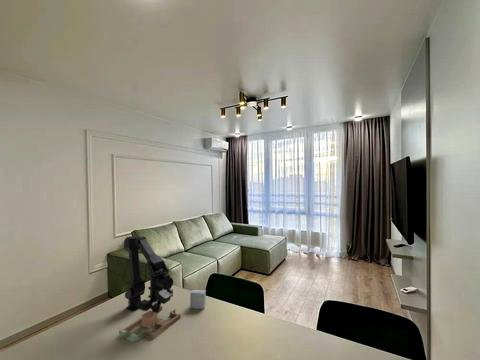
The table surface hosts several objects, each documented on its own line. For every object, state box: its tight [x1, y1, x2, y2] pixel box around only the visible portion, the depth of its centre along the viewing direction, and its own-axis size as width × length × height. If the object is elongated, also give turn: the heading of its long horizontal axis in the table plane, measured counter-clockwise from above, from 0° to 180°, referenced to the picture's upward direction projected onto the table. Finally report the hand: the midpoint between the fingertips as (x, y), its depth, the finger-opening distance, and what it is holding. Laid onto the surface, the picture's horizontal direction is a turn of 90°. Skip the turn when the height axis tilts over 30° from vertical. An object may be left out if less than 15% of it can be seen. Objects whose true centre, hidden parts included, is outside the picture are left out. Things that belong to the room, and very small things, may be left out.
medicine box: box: [189, 289, 207, 310], centre depth 128 cm, size 8×4×9 cm, turn 84°
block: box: [141, 310, 158, 329], centre depth 111 cm, size 5×5×5 cm
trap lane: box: [118, 305, 182, 344], centre depth 111 cm, size 16×25×2 cm, turn 154°
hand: (155, 315), depth 115 cm, fingers closed
